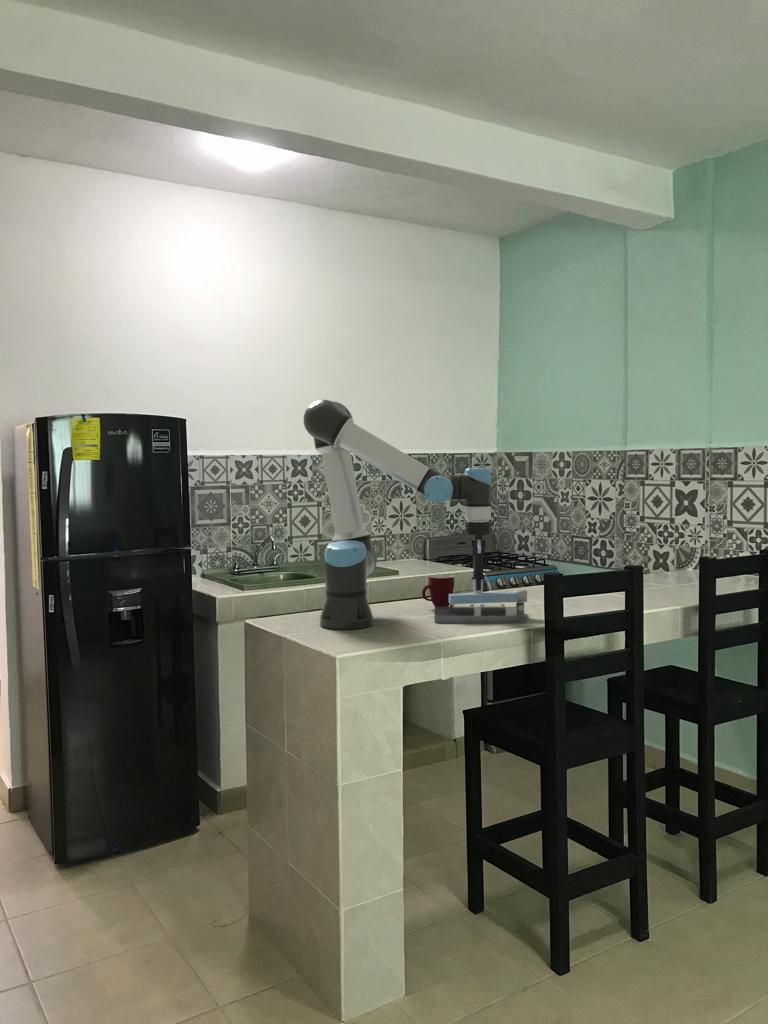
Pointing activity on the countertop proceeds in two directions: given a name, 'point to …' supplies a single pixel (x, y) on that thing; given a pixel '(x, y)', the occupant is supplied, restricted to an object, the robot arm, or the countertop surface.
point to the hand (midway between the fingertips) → (478, 600)
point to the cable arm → (489, 597)
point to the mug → (439, 589)
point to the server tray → (480, 613)
